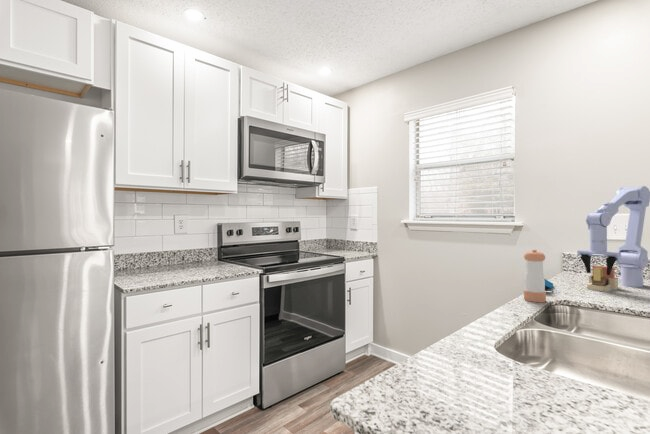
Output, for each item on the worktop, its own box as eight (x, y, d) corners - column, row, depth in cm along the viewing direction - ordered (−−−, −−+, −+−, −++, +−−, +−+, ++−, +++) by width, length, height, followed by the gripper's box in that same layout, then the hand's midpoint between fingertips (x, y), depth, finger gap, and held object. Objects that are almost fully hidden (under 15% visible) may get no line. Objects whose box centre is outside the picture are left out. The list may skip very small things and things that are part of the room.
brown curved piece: (600, 285, 157) (600, 272, 157) (612, 287, 154) (612, 274, 154) (591, 289, 150) (591, 276, 150) (603, 290, 146) (603, 277, 146)
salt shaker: (540, 298, 139) (539, 248, 139) (550, 302, 131) (549, 250, 131) (520, 297, 139) (520, 248, 139) (529, 302, 132) (528, 250, 132)
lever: (534, 297, 160) (522, 292, 148) (535, 281, 161) (523, 275, 149) (552, 299, 155) (541, 295, 143) (553, 283, 156) (542, 277, 144)
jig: (594, 286, 160) (594, 274, 159) (619, 289, 152) (619, 276, 152) (583, 290, 151) (583, 277, 151) (610, 294, 144) (609, 280, 144)
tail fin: (596, 279, 151) (596, 267, 151) (603, 280, 149) (603, 268, 149) (593, 280, 149) (593, 268, 149) (600, 281, 147) (600, 268, 147)
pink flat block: (594, 276, 156) (594, 265, 156) (614, 279, 151) (614, 267, 151) (592, 277, 155) (592, 266, 155) (612, 279, 149) (612, 267, 149)
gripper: (574, 240, 152) (574, 272, 152) (617, 242, 141) (617, 277, 141) (580, 240, 157) (580, 270, 157) (622, 241, 145) (622, 275, 145)
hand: (598, 273), depth 149 cm, fingers open, 6 cm apart
